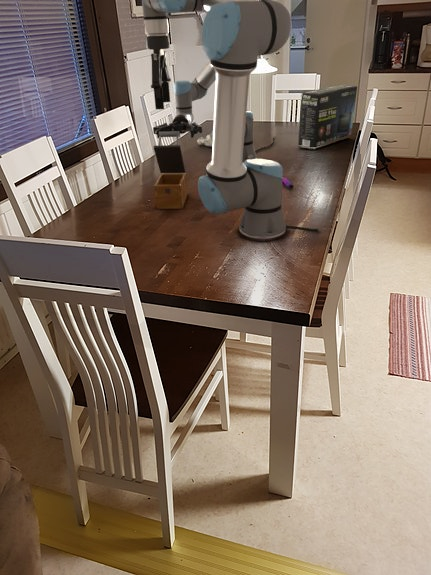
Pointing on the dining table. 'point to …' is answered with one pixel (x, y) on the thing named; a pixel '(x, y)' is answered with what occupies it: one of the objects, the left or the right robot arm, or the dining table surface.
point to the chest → (170, 191)
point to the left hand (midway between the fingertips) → (174, 134)
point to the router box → (326, 115)
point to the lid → (169, 155)
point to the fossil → (206, 140)
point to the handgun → (287, 183)
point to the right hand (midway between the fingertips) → (163, 105)
